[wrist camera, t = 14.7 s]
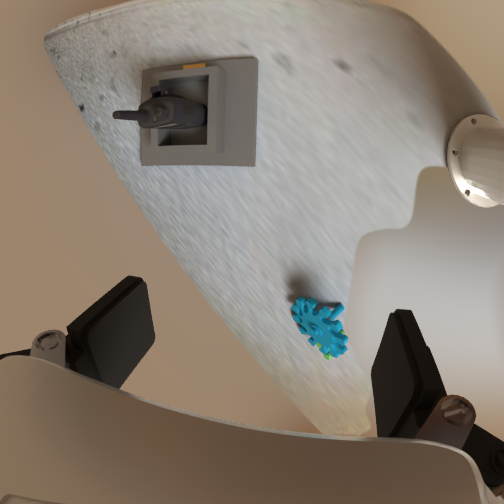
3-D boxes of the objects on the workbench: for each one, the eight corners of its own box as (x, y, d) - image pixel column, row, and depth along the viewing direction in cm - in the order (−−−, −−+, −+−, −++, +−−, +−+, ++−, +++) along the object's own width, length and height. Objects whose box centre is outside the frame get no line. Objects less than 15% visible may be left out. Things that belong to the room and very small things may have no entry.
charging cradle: (258, 60, 31) (250, 50, 27) (255, 165, 36) (247, 169, 32) (146, 71, 34) (128, 66, 30) (145, 165, 39) (127, 169, 35)
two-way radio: (174, 131, 36) (101, 133, 22) (172, 99, 34) (99, 87, 20) (214, 126, 34) (152, 122, 21) (212, 93, 33) (150, 71, 19)
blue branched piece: (280, 292, 40) (334, 318, 32) (310, 270, 43) (365, 289, 34) (299, 347, 45) (346, 375, 37) (324, 325, 47) (372, 348, 39)
